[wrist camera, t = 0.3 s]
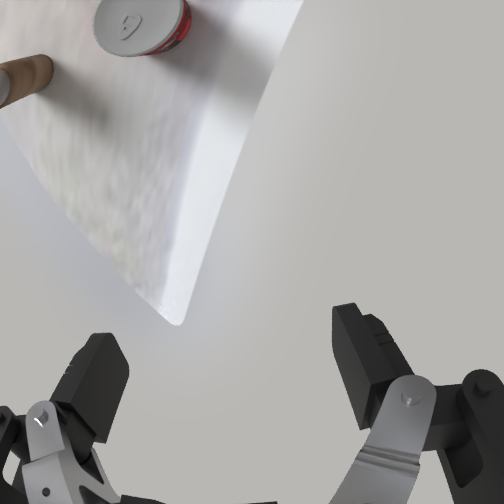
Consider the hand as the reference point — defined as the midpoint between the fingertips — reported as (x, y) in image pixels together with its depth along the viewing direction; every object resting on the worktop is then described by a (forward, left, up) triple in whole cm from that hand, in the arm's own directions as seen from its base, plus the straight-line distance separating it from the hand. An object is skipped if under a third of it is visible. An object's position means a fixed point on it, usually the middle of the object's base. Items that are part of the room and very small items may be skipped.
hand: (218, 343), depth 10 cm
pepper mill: (-24, -5, -30) cm, 39 cm away
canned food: (-12, +7, -30) cm, 34 cm away
